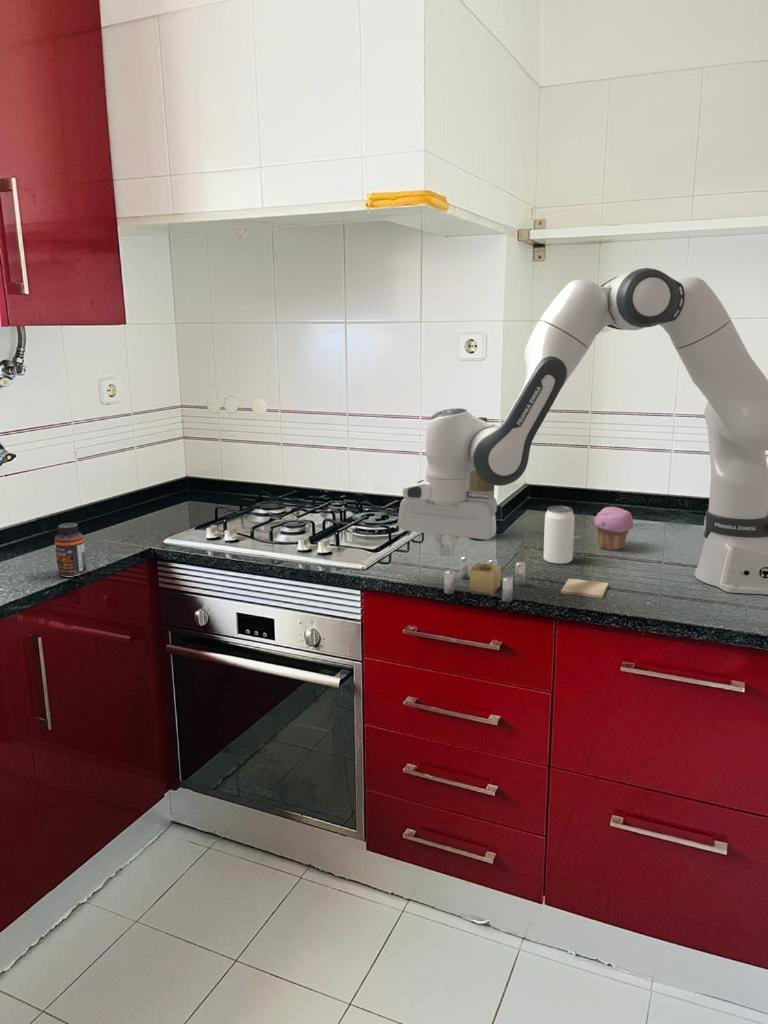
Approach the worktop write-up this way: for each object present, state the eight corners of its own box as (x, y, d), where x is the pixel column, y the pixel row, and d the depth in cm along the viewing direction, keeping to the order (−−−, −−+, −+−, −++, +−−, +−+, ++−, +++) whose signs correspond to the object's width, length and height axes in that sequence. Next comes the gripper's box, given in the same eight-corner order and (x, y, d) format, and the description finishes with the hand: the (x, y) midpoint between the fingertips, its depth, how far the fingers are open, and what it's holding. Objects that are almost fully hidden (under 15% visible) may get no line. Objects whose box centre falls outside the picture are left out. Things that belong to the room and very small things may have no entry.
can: (537, 558, 180) (539, 507, 177) (562, 554, 182) (564, 504, 179) (553, 566, 174) (555, 513, 171) (578, 562, 176) (580, 510, 173)
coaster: (608, 585, 161) (608, 582, 161) (602, 598, 154) (602, 595, 154) (568, 581, 164) (568, 578, 164) (561, 593, 157) (561, 590, 157)
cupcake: (603, 541, 192) (605, 501, 190) (637, 547, 187) (640, 506, 185) (586, 549, 186) (588, 508, 183) (621, 555, 180) (624, 513, 178)
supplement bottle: (53, 578, 171) (47, 528, 168) (65, 570, 176) (59, 521, 174) (80, 578, 170) (74, 528, 168) (91, 570, 176) (86, 521, 173)
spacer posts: (525, 583, 163) (526, 562, 162) (510, 602, 152) (511, 580, 151) (461, 575, 169) (461, 555, 168) (442, 593, 158) (442, 572, 157)
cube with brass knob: (500, 586, 162) (500, 564, 161) (493, 594, 157) (493, 571, 156) (476, 583, 164) (477, 561, 163) (469, 591, 159) (469, 568, 158)
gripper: (501, 490, 158) (499, 556, 161) (407, 482, 166) (406, 545, 169) (492, 497, 152) (490, 565, 155) (395, 488, 160) (395, 553, 163)
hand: (446, 555), depth 162 cm, fingers closed
